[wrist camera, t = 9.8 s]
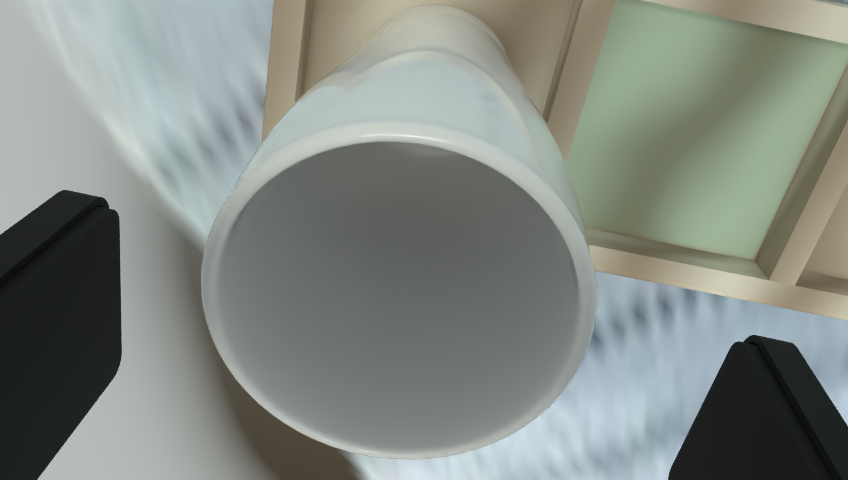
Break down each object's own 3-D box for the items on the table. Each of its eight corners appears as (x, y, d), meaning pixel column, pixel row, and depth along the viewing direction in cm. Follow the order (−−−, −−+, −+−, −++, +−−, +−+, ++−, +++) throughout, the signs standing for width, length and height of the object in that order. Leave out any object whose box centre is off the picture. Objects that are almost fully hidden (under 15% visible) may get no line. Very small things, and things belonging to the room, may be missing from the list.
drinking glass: (419, 201, 27) (371, 517, 14) (301, 61, 25) (107, 279, 12) (569, 96, 25) (683, 354, 12) (453, -68, 23) (430, 20, 9)
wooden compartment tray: (1149, 68, 24) (1218, 87, 22) (981, 318, 29) (1023, 355, 27) (301, -114, 23) (284, -113, 21) (272, 177, 28) (256, 203, 26)
